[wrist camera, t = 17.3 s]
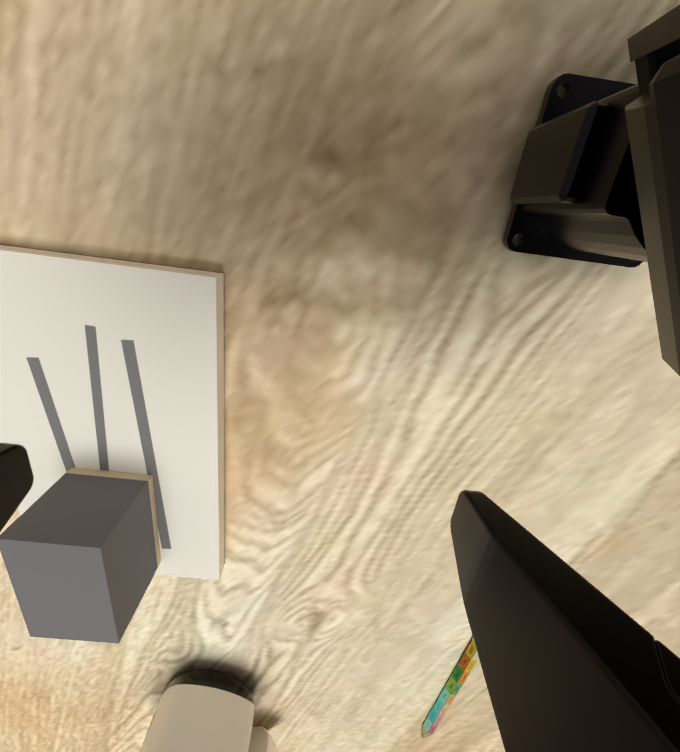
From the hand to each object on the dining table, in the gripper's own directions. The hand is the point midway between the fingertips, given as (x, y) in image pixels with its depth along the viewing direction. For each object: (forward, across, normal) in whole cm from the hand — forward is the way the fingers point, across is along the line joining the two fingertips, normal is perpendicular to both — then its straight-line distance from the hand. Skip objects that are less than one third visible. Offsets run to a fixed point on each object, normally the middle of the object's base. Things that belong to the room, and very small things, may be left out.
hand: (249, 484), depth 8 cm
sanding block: (+11, +10, +13) cm, 20 cm away
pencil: (+13, -16, +30) cm, 36 cm away
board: (+12, +10, +8) cm, 18 cm away
